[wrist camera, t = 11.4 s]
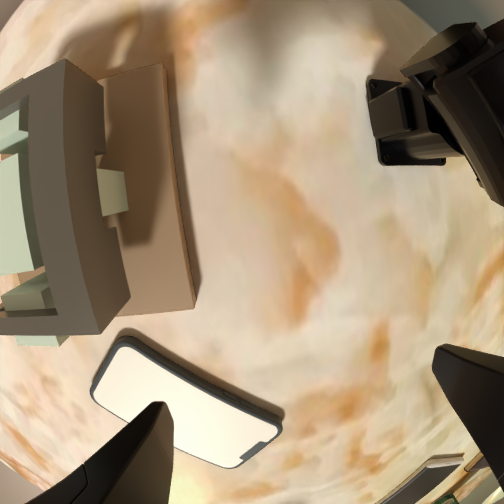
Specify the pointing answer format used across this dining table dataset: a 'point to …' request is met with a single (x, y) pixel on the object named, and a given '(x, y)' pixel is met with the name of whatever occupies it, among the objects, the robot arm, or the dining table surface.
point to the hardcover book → (477, 463)
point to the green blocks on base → (106, 202)
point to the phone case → (183, 405)
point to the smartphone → (422, 481)
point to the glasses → (67, 204)
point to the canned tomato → (446, 499)
